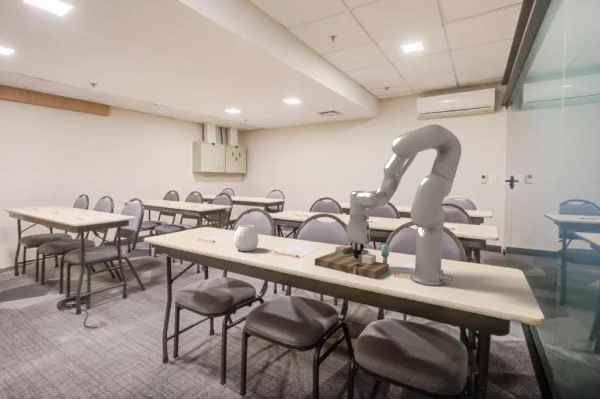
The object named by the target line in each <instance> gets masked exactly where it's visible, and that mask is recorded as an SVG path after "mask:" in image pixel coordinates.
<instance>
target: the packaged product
mask: <svg viewBox="0 0 600 399" xmlns="http://www.w3.org/2000/svg"><path fill="white" fill-rule="evenodd" d="M367 252H368V253H369V250H368V249H365V247H363V248H362V249H361V254H363V253H367ZM331 253H334V254H339V255H344V256H349V257H354V249H353V247H352V246H351V245H350V244H347V245H346V244H345V245H341V246H340V245H339V246H336V247H335V250H334V251H332V252H331ZM368 253H367V254H368Z"/></svg>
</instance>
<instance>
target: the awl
mask: <svg viewBox="0 0 600 399" xmlns="http://www.w3.org/2000/svg"><path fill="white" fill-rule="evenodd" d="M380 254H381V255H380V256H381V257H382V263H386V264H388V258H389V255H390V245H389V244H387V243H386V244H381V253H380Z"/></svg>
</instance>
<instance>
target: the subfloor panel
mask: <svg viewBox="0 0 600 399" xmlns="http://www.w3.org/2000/svg"><path fill="white" fill-rule="evenodd" d="M314 266H318V267H322V268H326V269H331V270H335V271H339V272H343V273H347V274H351V275H356V276H360V277H364V278H370V279H374V280H375V279H377V278H379V277H380V276H382V275H384V274H387V272H389V269H390V265H389V263H387V264H386V263H383V262H381V261H380V262H379V261H376V262H374V263H372V264H367V263H361V262H358V259H356V258H354V256H350V257H349V256H344V255H339V254H334V253H332V252H331V253H328V254H325V255H322V256H319V257H316V258H314Z"/></svg>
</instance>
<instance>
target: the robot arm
mask: <svg viewBox="0 0 600 399" xmlns="http://www.w3.org/2000/svg"><path fill="white" fill-rule="evenodd" d="M431 149H432V150H435V151H436V156H435V158H434V161H433V164H432V168H431V171H430V173H429V174H428V175H426V176H425V177H423V178H422V179H421V181H420V182H419V184H418V187H417V190H416V193H415V196H414V200H413V203H412V206H411V209H410V210H411V211H410V220H411V222H412V223H413V224H414V225H415V226H416V233H415V234H416V235H415V257H414V258H415V261H414V262H415V264H414V265H415V266H414V273H412V274H410V279H411V281H413V282H415V283H417V284H421V285H425V286H442V285H444V284H445V283H446V281H447V282H453V280H454V277H453V276H452V275H451V274H447V273H444V269H442V261H443V260H442V257H443V255H442V254H443V237H444V236H443V233H444V225H445V210H444V207H443V206H442V205H443V202H444V200H445V198H446V197H448V196H449V195H450V193H451V191H452V187H453V183H454V181H455V180H454V179H455V177H456V174H457V170H458V167H459V164H460V161H461V158H462V157H461V156H462V145H461V142H460V139H459V138H458V136H456V135H455V134H454V133H453V132H452V131H451V130H449V129H448V128H445V127H444V126H442V125H441V124H436V123H435V124H428V125H425V126H423V127H419V128H417V129H413V130H410V131H409V132H405V133H403V134H400V135H398V136H397V137H395V138H394V139H393V141H392V143H391V150H392V154H391V156H390V157H389V159H388V160H387V161H386V163H385V164H384V165H383V174H384V175H383V179H382V181H381V183H380V185H379V187H378V188H377V190H372V191H371V190H370V191H365V190H353V191H351V192H350V194H349V199H350V200H349V220H348V222H347V227H346V236H345V237H346V243H347V245H351V246H352V247H353V249H354V256H353V257H354V258H356V259H358V257H359V255H360V254H361V249H362V248H363V247H364V248H367V247H369V246H370V244H369V243H370V241H371V231H370V230H371V229H370V223H369V221H368V220H370V216H368V213H367V212H368V209H378V208H383V207H385V206H386V205H387V204H388V203H389V202H390V200H391V199H392V197H393V196H394V194H395V193H396V192H397V190H398V188H399V185H400V183H401V180H402V178H403V176H404V175H405V173H406V172H407V170H408V168H409V167H410V166H411V165H412V163H413V162H414V160H415V158H416V157H417V155H418V154H419V153H421V152H424V151H427V150H431Z"/></svg>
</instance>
